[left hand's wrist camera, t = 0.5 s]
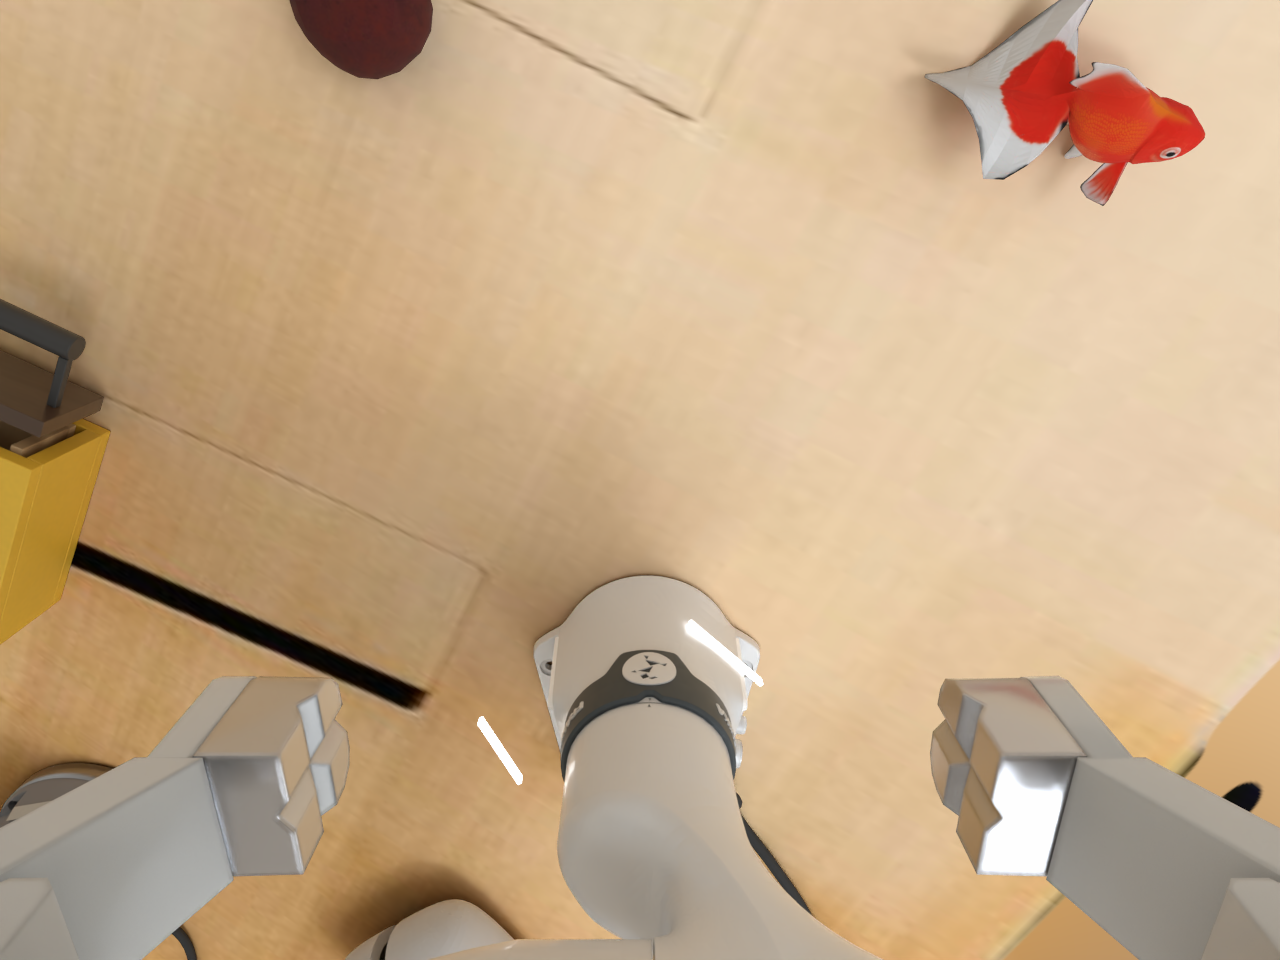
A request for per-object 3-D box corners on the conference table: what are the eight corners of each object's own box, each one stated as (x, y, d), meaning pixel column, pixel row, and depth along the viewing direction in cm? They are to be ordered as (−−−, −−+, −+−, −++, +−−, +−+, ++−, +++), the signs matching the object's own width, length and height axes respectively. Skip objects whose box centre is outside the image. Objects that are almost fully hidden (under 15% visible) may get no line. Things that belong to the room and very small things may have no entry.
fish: (1090, 284, 50) (1165, 207, 40) (880, 167, 54) (902, 71, 44) (1187, 150, 50) (1284, 41, 41) (971, 42, 54) (1013, -81, 44)
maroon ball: (309, -52, 47) (256, -87, 41) (438, -54, 47) (405, -89, 41) (328, 84, 50) (282, 72, 43) (450, 83, 50) (421, 70, 43)
